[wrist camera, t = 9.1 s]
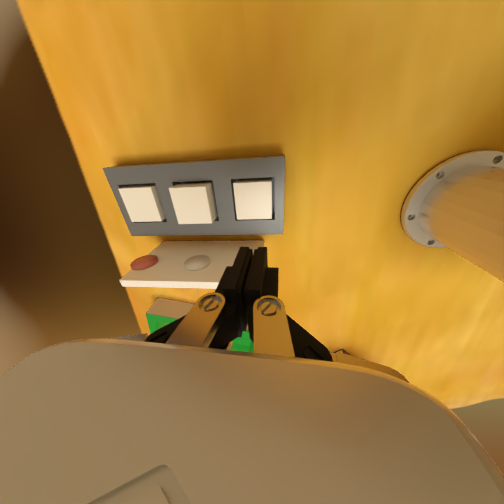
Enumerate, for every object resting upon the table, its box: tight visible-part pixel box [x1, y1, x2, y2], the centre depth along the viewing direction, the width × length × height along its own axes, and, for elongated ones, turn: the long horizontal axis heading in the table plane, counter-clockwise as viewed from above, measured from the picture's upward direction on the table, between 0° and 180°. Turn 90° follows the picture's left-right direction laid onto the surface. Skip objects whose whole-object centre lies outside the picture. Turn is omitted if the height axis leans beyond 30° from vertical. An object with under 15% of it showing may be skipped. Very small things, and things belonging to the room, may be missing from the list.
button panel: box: [103, 155, 285, 289], centre depth 25 cm, size 24×14×11 cm, turn 94°
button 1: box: [233, 177, 272, 220], centre depth 26 cm, size 5×5×3 cm
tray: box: [146, 298, 254, 353], centre depth 46 cm, size 25×25×5 cm
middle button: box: [169, 182, 218, 224], centre depth 26 cm, size 5×5×3 cm
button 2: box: [118, 183, 166, 222], centre depth 28 cm, size 5×5×3 cm
